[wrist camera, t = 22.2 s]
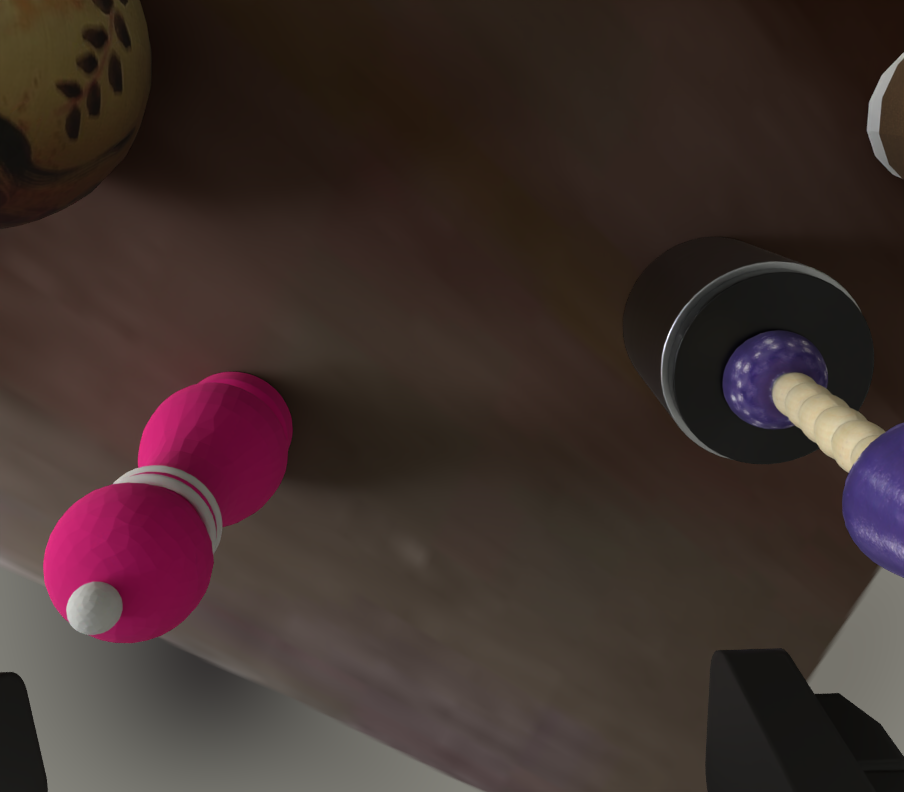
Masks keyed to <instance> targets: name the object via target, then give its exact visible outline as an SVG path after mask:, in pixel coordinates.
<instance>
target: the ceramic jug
mask: <svg viewBox="0 0 904 792" xmlns="http://www.w3.org/2000/svg"><path fill="white" fill-rule="evenodd" d="M151 80H152V59H151V46H150V40H149V35H148V29H147V23H146V20H145V16H144V13H143V10H142V6H141V3H140V0H0V229H3V228H9V227H14V226H19V225H23V224H26V223H30V222H33V221H36V220H39V219H42V218H44V217H47V216H49V215H51V214H54V213H56V212H58V211H60V210H62V209H64V208H66V207H68V206H70V205H72V204H74V203H76V202H77V201H79V200H80V199H82V198H83V197H85V196H86V195H88V194H89V193H91V192H92V191H93V190H94V189H95V188H96V187H97V186H98V185H99V184H100V183H101V182H102V181H103V180H104V179H105V178H106V177H107V176H108V174H109V173H110V172H111V171H112V170H113V169H114V168H115V167H116V166H117V165H118V164H119V163H120V162H121V161H122V160H123V159H124V158H125V156H126V155H127V153H128V151H129V149H130V147H131V146H132V144H133V142H134V140H135V138H136V135H137V133H138V130H139V128H140V126H141V123H142V119H143V115H144V111H145V108H146V104H147V100H148V97H149V92H150V88H151Z"/></svg>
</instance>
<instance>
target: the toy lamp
mask: <svg viewBox="0 0 904 792" xmlns="http://www.w3.org/2000/svg"><path fill="white" fill-rule="evenodd" d="M722 382H723V392H724V397H725V399H726V401H727V403H728V405H729V407H730V408H731V410H732V411H733V412H734V413H735V414H736V415H737V416H738V417H739V418H740V419H742V420H743V421H745V422H747V423H749V424H751V425H753V426H756V427H760V428H764V429H785V428H789V427H792V426H797V427H798V428H800V429H802V431H803V433H804V434H805V435H806V436H807V437H808V438H809V439H810V440H812V441H813V442H815V443H817V445H818V446H819V448H820V449H821V450H822V451H823V452H824V453H825V454H826V455H828V456H829V457H831V458H833V459H835V460H836V461H837V463H838V464H839V465H840V466H841V467H842V468H843V469H844V470H845V471H846V472H848V473H849V474H848V476H847V479H846V482H845V488H844V491H843V500H842V506H843V510H842V511H843V516H844V520H845V526H846V527H847V529H848V531H849V533H850V536H851V538H852V539H853V541H854V542H855V543H856V545H857V546H858V547H859V548H860V550H861V551H862V552H863V553H864V554H865V555H866V556H868V557H869V558H870V559H871V560H872V561H873V562H875V563H876V564H878V565H879V566H881V567H883V568H885V569H887V570H888V571H890V572H892V573H894V574H896V575H899V576H901V577H903V578H904V423H901V424H898V425H896V426H894V427H892V428H891V429H889V430H888V431H887V432H885V431H884V430H883V429H882V428H880V427H879V426H877V425H876V424H874V423H871V422H869V421H867V419H866V418H865V417H864V416H863V415H862V414H861V413H859V412H858V411H856V410H854V409H852V408H850V407H849V406H848V405H847V404H846V402H844V401H843V400H842V399H840V398H839V397H837V396H834V395H832V394H831V393H830V392H829V391H828V390H827V384H828V372H827V367H826V364H825V361H824V359H823V357H822V355H821V353H820V352H819V350H818V349H817V347H816V346H815V345H814V344H813V343H812V342H810V341H809V340H808V339H806V338H805V337H803V336H801V335H799V334H796V333H793V332H789V331H783V330H776V331H768V332H764V333H760V334H758V335H756V336H754V337H752V338H750V339H748V340H746V341H745V342H744V343H743V344H741V345H740V346H739V347H738V348H737V349H736V350H735V351H734V353H733V354H732V356H731V357H730V359H729V361H728V363H727V365H726V367H725V370H724V374H723V381H722Z"/></svg>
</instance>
